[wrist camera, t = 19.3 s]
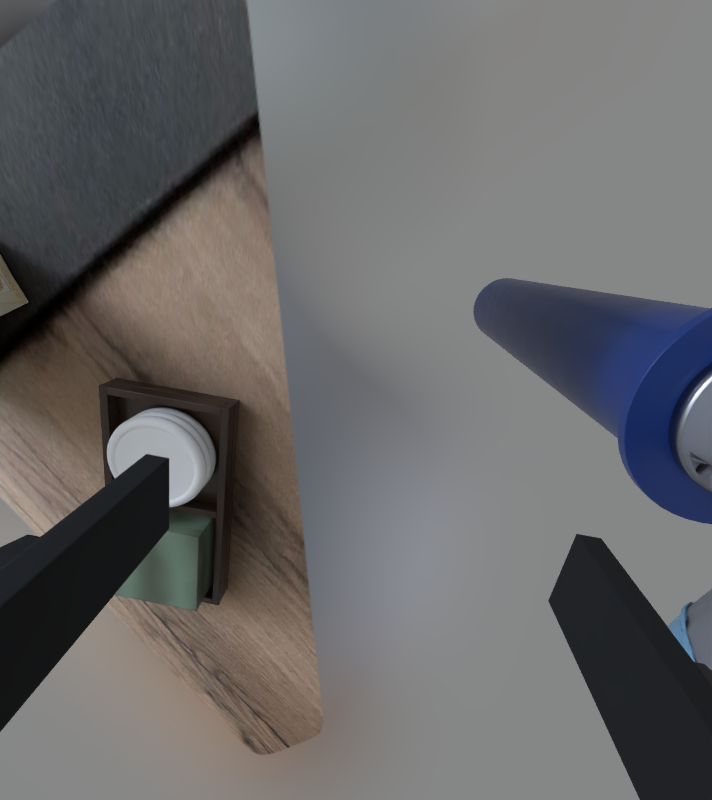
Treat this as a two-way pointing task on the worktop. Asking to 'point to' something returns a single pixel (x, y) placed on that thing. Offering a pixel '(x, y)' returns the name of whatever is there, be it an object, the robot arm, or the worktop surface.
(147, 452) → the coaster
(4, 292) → the coffeecake box
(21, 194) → the worktop surface
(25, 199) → the worktop surface
